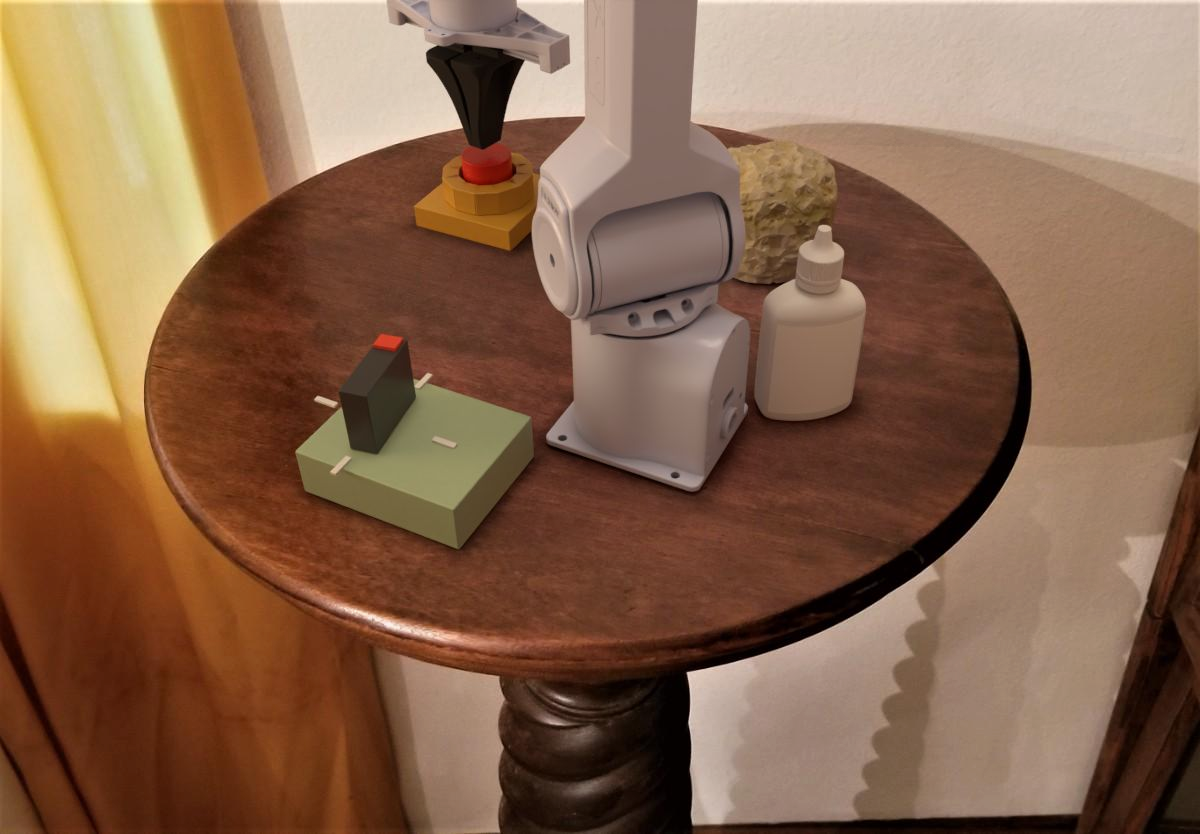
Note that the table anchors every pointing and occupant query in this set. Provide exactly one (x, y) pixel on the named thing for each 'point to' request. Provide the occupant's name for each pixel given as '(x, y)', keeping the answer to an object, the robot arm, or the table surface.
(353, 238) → the table surface
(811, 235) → the coral
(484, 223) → the button box
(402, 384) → the knob
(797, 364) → the eye dropper bottle
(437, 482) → the panel
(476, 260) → the table surface
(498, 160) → the button
